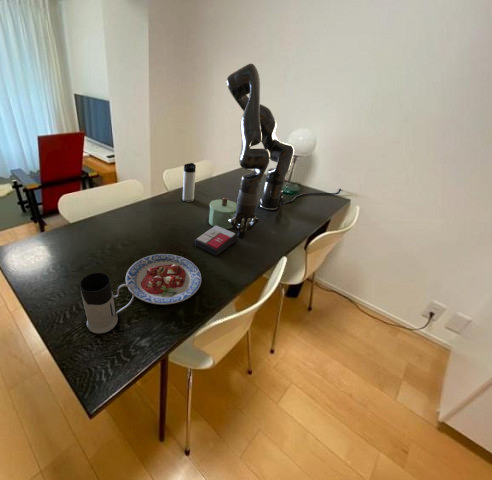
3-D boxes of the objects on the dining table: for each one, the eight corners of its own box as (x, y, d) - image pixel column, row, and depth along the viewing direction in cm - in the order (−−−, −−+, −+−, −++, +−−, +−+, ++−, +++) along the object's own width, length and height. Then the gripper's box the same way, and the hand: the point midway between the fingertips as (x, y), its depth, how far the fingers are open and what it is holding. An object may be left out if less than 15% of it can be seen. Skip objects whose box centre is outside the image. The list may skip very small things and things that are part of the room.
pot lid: (227, 199, 131) (229, 190, 129) (244, 211, 121) (246, 201, 118) (204, 204, 126) (204, 194, 124) (219, 216, 116) (220, 206, 113)
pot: (222, 212, 137) (224, 197, 132) (243, 228, 123) (246, 212, 119) (201, 216, 132) (202, 201, 128) (220, 233, 119) (223, 217, 114)
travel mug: (195, 198, 151) (197, 163, 140) (191, 202, 146) (193, 167, 135) (185, 196, 153) (187, 162, 142) (180, 200, 148) (182, 165, 137)
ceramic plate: (133, 257, 103) (132, 250, 101) (199, 259, 102) (199, 253, 101) (118, 307, 81) (117, 300, 79) (202, 310, 80) (203, 303, 79)
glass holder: (90, 309, 80) (82, 271, 72) (137, 308, 81) (134, 270, 73) (83, 333, 73) (73, 294, 64) (135, 332, 73) (131, 292, 65)
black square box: (194, 238, 108) (215, 223, 117) (194, 246, 111) (215, 231, 120) (217, 248, 102) (237, 232, 111) (216, 257, 105) (236, 240, 114)
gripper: (234, 206, 100) (228, 244, 109) (267, 204, 101) (258, 241, 111) (227, 198, 106) (223, 234, 115) (258, 196, 108) (251, 232, 117)
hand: (240, 238), depth 113 cm, fingers closed
